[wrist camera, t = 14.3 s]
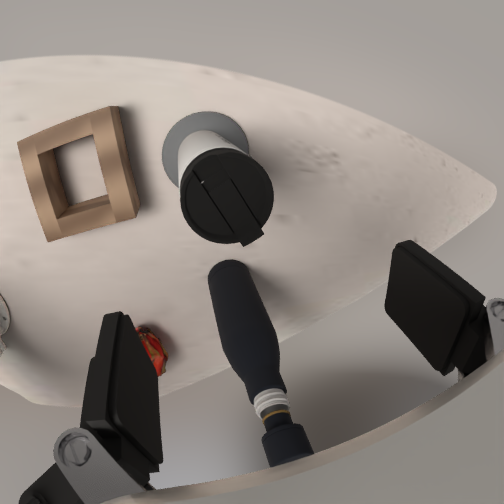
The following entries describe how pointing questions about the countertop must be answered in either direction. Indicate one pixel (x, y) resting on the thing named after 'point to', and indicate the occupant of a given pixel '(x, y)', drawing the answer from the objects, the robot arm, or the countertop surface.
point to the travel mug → (222, 189)
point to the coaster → (195, 123)
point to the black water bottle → (255, 358)
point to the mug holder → (50, 186)
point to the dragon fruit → (154, 349)
